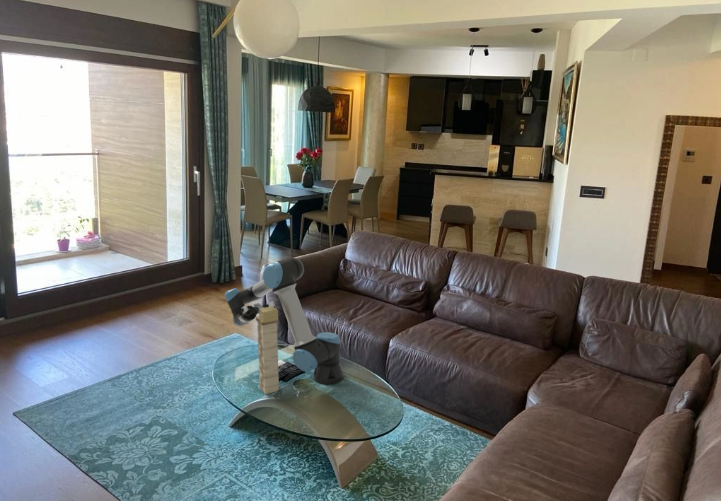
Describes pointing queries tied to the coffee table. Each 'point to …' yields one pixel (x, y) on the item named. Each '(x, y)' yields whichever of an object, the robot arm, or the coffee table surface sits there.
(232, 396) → the coffee table surface
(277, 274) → the robot arm
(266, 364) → the pedestal
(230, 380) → the coffee table surface
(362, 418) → the coffee table surface
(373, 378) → the coffee table surface
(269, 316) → the bar
